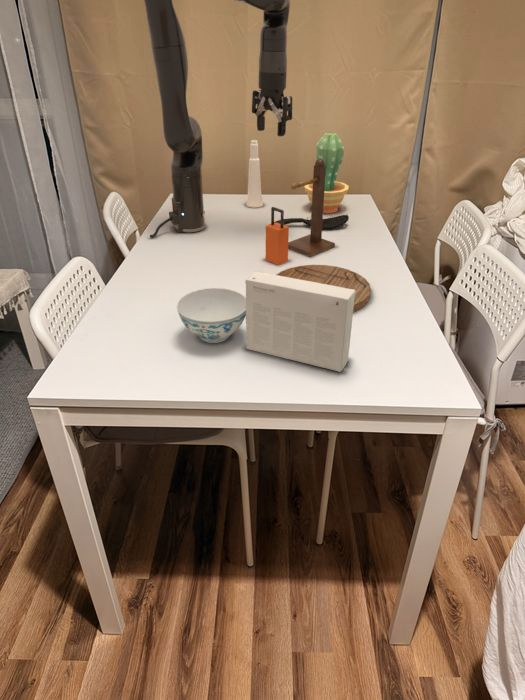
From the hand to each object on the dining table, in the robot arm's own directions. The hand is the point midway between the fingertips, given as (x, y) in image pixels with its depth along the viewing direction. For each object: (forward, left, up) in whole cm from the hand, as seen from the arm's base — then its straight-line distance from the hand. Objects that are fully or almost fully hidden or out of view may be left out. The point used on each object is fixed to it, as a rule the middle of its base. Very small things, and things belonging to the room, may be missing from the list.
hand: (270, 133), depth 154 cm
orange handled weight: (-7, -21, -30) cm, 37 cm away
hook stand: (+4, -16, -30) cm, 34 cm away
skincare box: (-24, -66, -30) cm, 76 cm away
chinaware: (-37, -52, -30) cm, 70 cm away
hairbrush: (+14, 0, -30) cm, 33 cm away
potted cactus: (+27, +13, -30) cm, 43 cm away
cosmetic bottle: (+6, +27, -30) cm, 41 cm away
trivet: (-6, -43, -30) cm, 52 cm away
